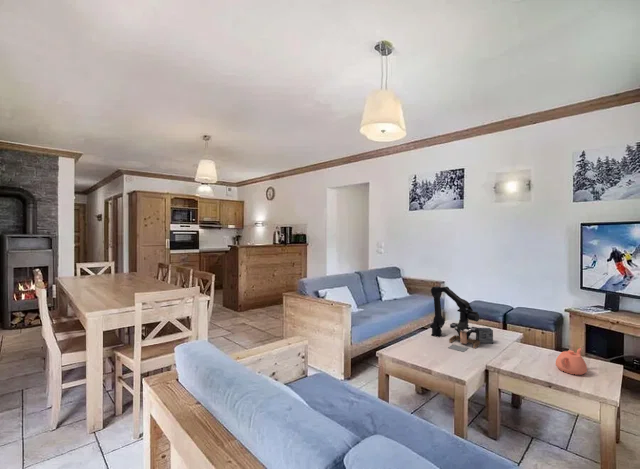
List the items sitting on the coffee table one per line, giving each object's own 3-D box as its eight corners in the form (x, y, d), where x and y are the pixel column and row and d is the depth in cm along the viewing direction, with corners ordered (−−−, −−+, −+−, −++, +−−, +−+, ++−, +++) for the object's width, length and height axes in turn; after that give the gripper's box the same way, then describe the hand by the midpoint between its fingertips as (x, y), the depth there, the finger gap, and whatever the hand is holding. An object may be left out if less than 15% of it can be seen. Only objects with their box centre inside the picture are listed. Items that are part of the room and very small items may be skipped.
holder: (449, 342, 243) (449, 338, 243) (454, 338, 252) (454, 335, 251) (474, 348, 231) (474, 344, 231) (479, 344, 239) (479, 340, 239)
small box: (489, 341, 247) (489, 327, 247) (493, 344, 240) (493, 330, 240) (475, 340, 248) (475, 327, 248) (478, 343, 241) (478, 329, 241)
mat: (448, 348, 232) (448, 347, 232) (452, 344, 239) (452, 344, 239) (463, 352, 225) (463, 351, 225) (468, 348, 231) (468, 348, 231)
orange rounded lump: (566, 362, 207) (567, 343, 207) (595, 371, 194) (595, 351, 194) (548, 369, 197) (548, 349, 197) (576, 379, 184) (577, 358, 184)
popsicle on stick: (459, 342, 240) (459, 331, 240) (462, 339, 245) (462, 329, 245) (466, 344, 236) (466, 333, 236) (469, 341, 242) (469, 330, 242)
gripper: (447, 318, 240) (447, 338, 240) (473, 323, 227) (473, 344, 228) (452, 315, 248) (452, 335, 249) (478, 319, 235) (478, 340, 236)
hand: (463, 338), depth 240 cm, fingers closed on popsicle on stick, 5 cm apart
